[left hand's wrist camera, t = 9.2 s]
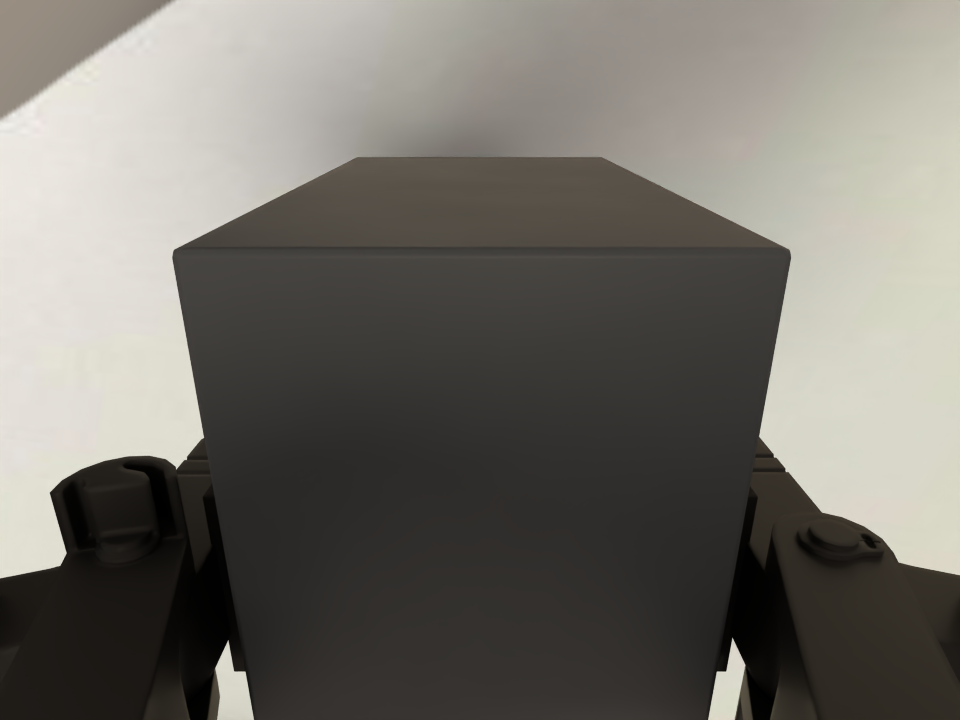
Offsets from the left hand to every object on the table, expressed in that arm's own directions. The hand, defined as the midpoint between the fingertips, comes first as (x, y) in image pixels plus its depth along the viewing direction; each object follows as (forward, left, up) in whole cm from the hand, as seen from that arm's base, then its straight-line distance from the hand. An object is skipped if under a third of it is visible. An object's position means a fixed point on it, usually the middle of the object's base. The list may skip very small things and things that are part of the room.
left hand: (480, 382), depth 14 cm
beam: (+18, +30, -1) cm, 35 cm away
